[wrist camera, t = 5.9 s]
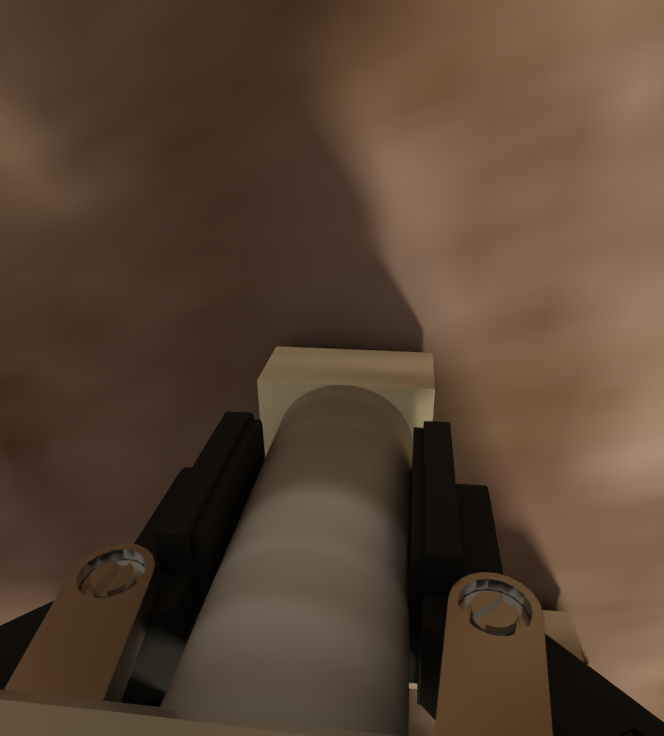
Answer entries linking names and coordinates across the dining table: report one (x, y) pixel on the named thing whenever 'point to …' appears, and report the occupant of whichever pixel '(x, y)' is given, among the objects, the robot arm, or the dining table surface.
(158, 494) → the dining table surface
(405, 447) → the cream frame with post
